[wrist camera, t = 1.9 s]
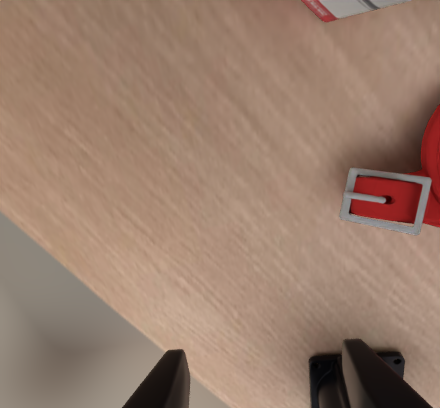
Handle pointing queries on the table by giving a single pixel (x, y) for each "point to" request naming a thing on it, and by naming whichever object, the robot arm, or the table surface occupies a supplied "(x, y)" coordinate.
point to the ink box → (346, 7)
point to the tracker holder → (398, 190)
